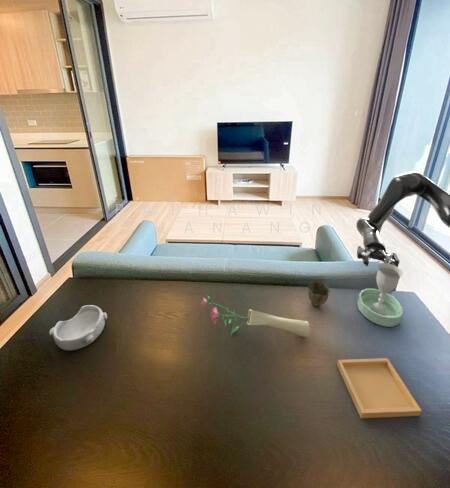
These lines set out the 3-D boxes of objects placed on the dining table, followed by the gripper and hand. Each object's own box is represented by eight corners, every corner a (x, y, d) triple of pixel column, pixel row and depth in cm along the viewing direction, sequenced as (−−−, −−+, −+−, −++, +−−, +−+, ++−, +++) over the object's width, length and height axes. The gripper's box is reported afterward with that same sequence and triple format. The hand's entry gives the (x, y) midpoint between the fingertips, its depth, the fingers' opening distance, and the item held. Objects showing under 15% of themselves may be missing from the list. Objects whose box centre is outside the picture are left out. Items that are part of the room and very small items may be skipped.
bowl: (383, 297, 94) (386, 287, 93) (408, 327, 82) (412, 317, 80) (350, 297, 94) (352, 288, 92) (370, 328, 82) (373, 318, 80)
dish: (46, 345, 76) (41, 334, 74) (82, 310, 88) (79, 299, 86) (83, 359, 72) (79, 348, 70) (115, 320, 84) (113, 310, 82)
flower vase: (298, 359, 79) (193, 337, 78) (294, 320, 89) (200, 300, 88) (313, 347, 72) (197, 322, 71) (307, 306, 81) (205, 283, 80)
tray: (385, 362, 71) (387, 358, 70) (419, 415, 59) (421, 410, 59) (336, 364, 71) (337, 359, 70) (360, 418, 59) (362, 413, 58)
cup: (301, 304, 91) (304, 287, 88) (311, 293, 96) (314, 277, 93) (321, 316, 86) (324, 298, 83) (329, 304, 91) (333, 287, 88)
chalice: (369, 316, 85) (381, 274, 79) (364, 301, 92) (374, 261, 85) (392, 320, 84) (407, 278, 77) (385, 304, 90) (398, 265, 84)
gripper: (357, 233, 108) (361, 254, 94) (394, 240, 103) (405, 263, 89) (353, 247, 110) (357, 270, 96) (390, 255, 105) (399, 280, 91)
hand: (380, 267), depth 93 cm, fingers open, 8 cm apart
